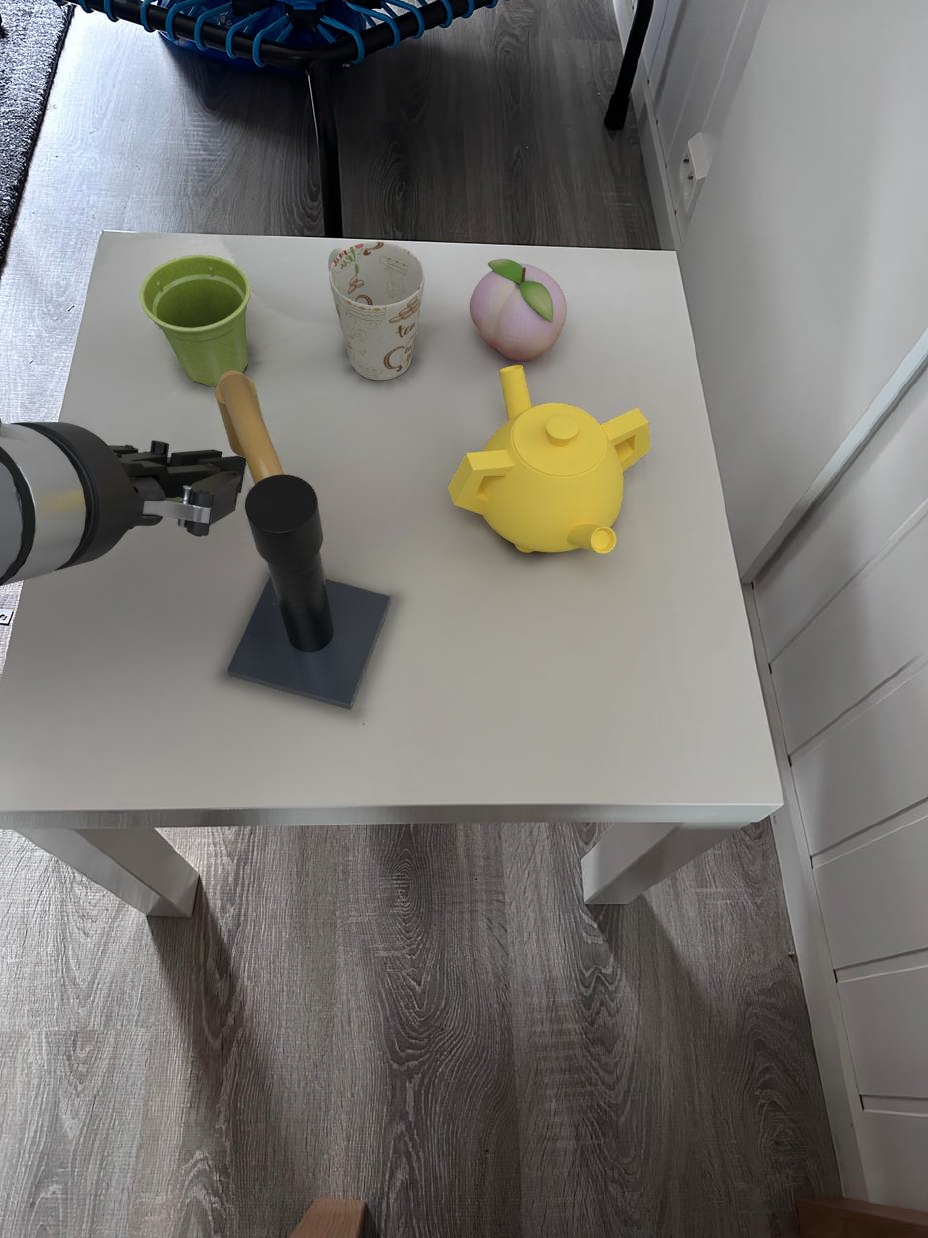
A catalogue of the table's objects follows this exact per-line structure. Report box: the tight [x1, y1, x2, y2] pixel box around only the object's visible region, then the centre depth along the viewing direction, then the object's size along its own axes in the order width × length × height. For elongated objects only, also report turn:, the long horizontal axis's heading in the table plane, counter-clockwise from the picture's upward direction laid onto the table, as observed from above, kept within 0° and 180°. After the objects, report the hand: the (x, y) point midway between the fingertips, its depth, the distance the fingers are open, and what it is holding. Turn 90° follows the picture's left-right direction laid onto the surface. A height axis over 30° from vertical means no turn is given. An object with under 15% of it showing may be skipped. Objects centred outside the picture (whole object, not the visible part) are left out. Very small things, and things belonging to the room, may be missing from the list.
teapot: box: [447, 364, 651, 555], centre depth 70 cm, size 20×18×11 cm
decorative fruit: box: [469, 258, 568, 361], centre depth 80 cm, size 9×8×10 cm
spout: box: [214, 370, 324, 567], centre depth 57 cm, size 16×4×8 cm, turn 23°
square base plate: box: [226, 549, 391, 711], centre depth 62 cm, size 10×10×14 cm
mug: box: [327, 241, 426, 381], centre depth 79 cm, size 8×13×10 cm, turn 39°
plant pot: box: [139, 254, 251, 387], centre depth 77 cm, size 9×9×9 cm
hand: (227, 471), depth 64 cm, fingers closed
